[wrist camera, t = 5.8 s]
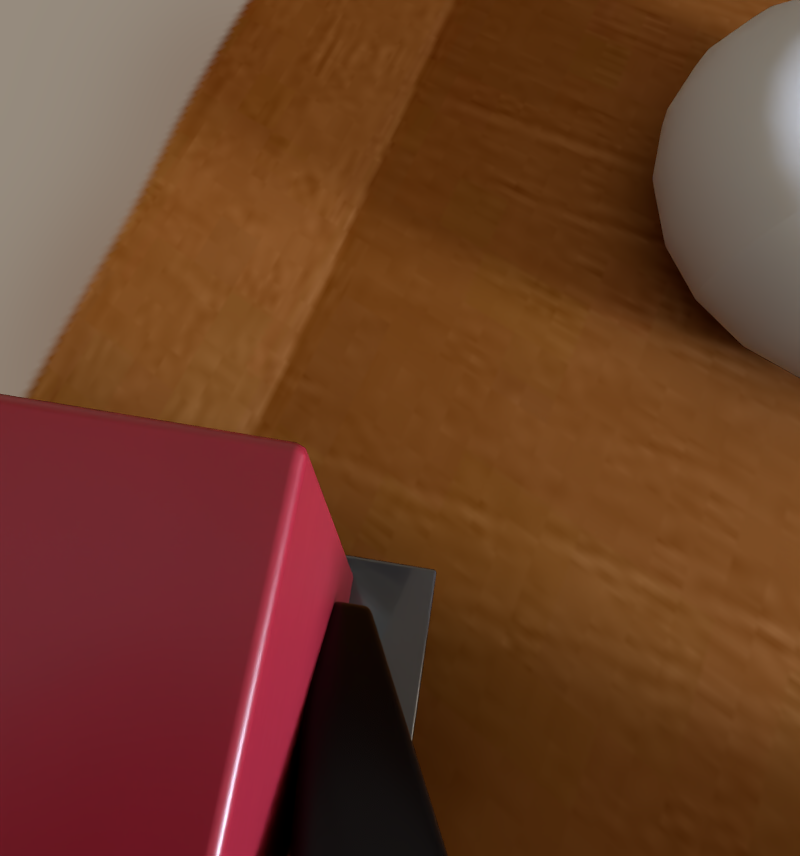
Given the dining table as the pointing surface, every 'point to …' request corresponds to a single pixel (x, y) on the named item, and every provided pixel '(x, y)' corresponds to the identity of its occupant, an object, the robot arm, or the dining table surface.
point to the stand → (397, 620)
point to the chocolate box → (155, 632)
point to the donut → (739, 183)
